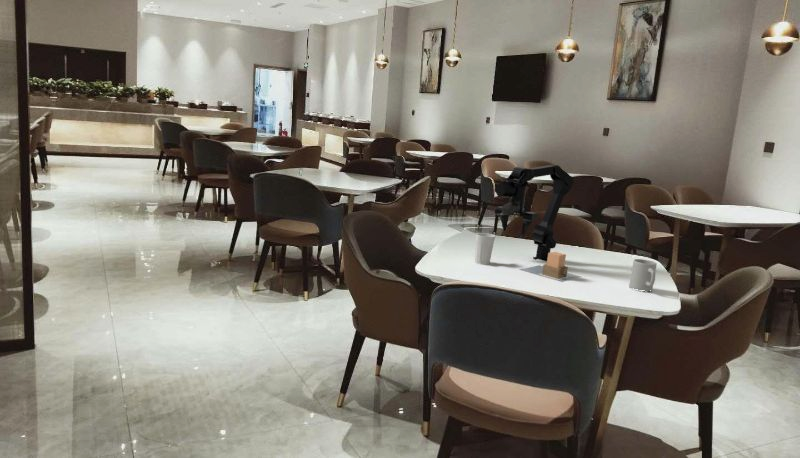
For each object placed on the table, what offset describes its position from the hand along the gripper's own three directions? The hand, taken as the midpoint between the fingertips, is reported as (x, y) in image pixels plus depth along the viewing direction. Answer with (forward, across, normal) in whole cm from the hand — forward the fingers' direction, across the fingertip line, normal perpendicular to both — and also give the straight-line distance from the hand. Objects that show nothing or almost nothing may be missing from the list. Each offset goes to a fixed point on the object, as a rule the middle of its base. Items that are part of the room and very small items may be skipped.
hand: (513, 232), depth 261 cm
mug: (+13, +54, +10) cm, 57 cm away
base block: (+12, +25, -6) cm, 28 cm away
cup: (+13, -4, -15) cm, 20 cm away
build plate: (+12, +22, -4) cm, 26 cm away
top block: (+8, +25, -6) cm, 27 cm away
